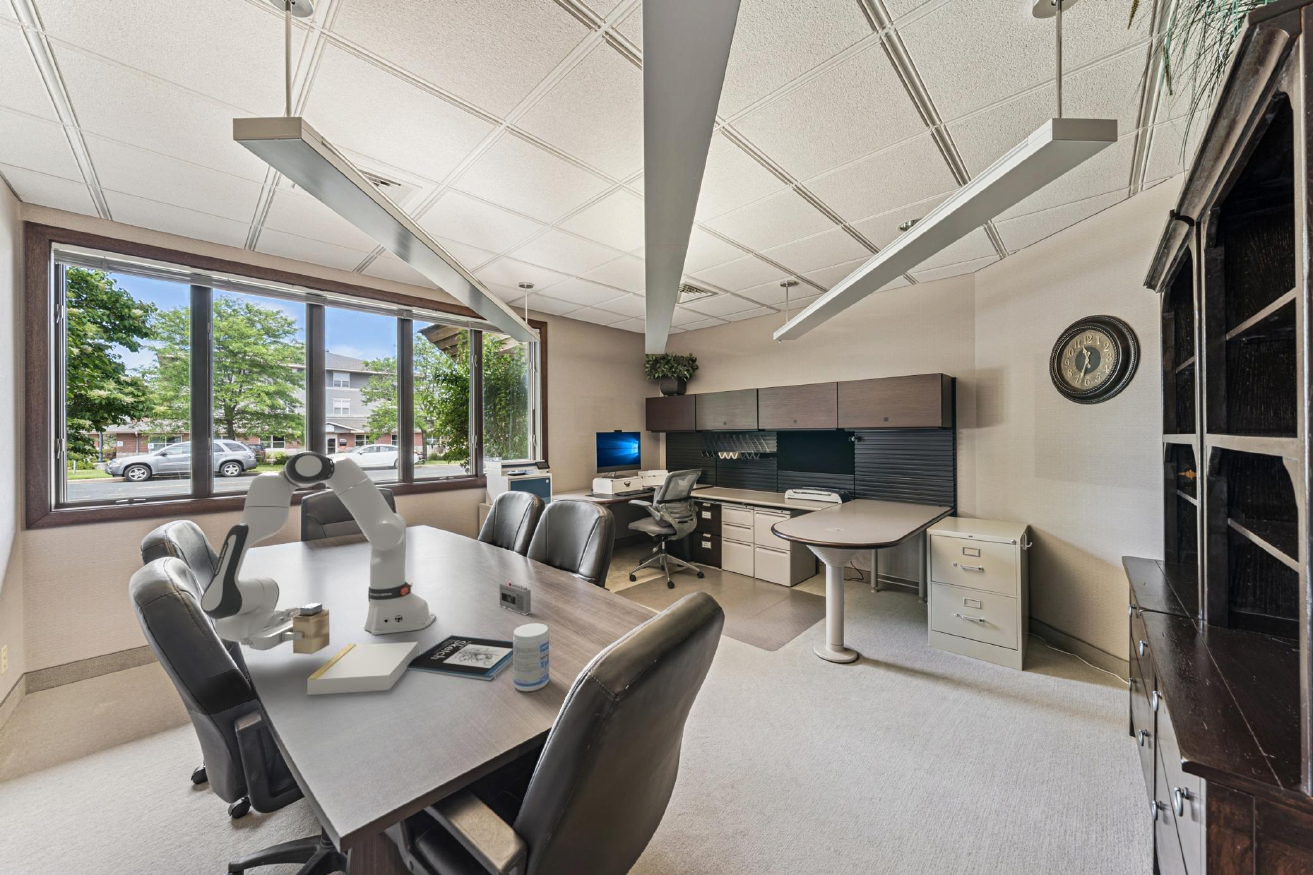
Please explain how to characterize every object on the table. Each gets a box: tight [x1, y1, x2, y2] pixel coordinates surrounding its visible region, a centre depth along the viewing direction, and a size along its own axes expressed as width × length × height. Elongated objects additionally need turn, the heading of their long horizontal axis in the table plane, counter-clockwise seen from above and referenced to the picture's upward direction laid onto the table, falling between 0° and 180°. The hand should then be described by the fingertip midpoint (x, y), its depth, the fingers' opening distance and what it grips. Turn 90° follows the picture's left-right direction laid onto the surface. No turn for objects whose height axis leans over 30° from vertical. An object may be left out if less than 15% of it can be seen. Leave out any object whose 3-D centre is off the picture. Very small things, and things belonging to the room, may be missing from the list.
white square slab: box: [306, 641, 419, 696], centre depth 132 cm, size 20×20×4 cm
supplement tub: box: [512, 622, 550, 692], centre depth 126 cm, size 10×10×15 cm
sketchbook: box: [406, 634, 513, 682], centre depth 142 cm, size 22×30×2 cm
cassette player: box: [499, 581, 532, 614], centre depth 180 cm, size 16×3×10 cm, turn 54°
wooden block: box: [292, 608, 331, 655], centre depth 135 cm, size 6×6×10 cm
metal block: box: [300, 602, 323, 616], centre depth 135 cm, size 4×4×4 cm
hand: (314, 629), depth 135 cm, fingers closed on wooden block, 6 cm apart
